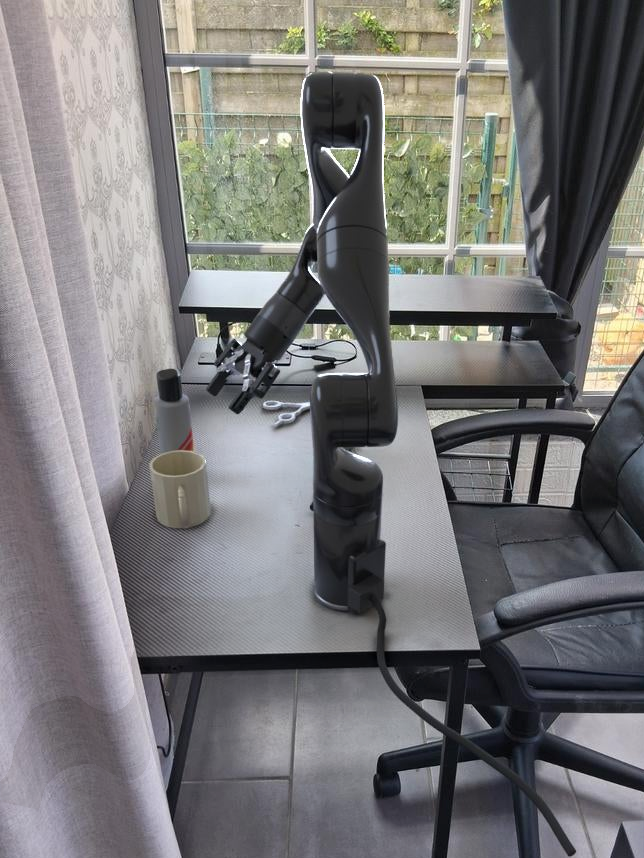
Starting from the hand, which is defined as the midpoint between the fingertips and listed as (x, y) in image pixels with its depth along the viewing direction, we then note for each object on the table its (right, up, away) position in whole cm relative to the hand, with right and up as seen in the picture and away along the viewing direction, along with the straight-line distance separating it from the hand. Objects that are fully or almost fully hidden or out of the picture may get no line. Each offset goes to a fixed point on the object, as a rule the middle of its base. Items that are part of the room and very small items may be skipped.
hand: (221, 402), depth 138 cm
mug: (-4, -20, -9) cm, 22 cm away
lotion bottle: (-8, -13, +2) cm, 15 cm away
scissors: (+13, +3, +28) cm, 31 cm away
